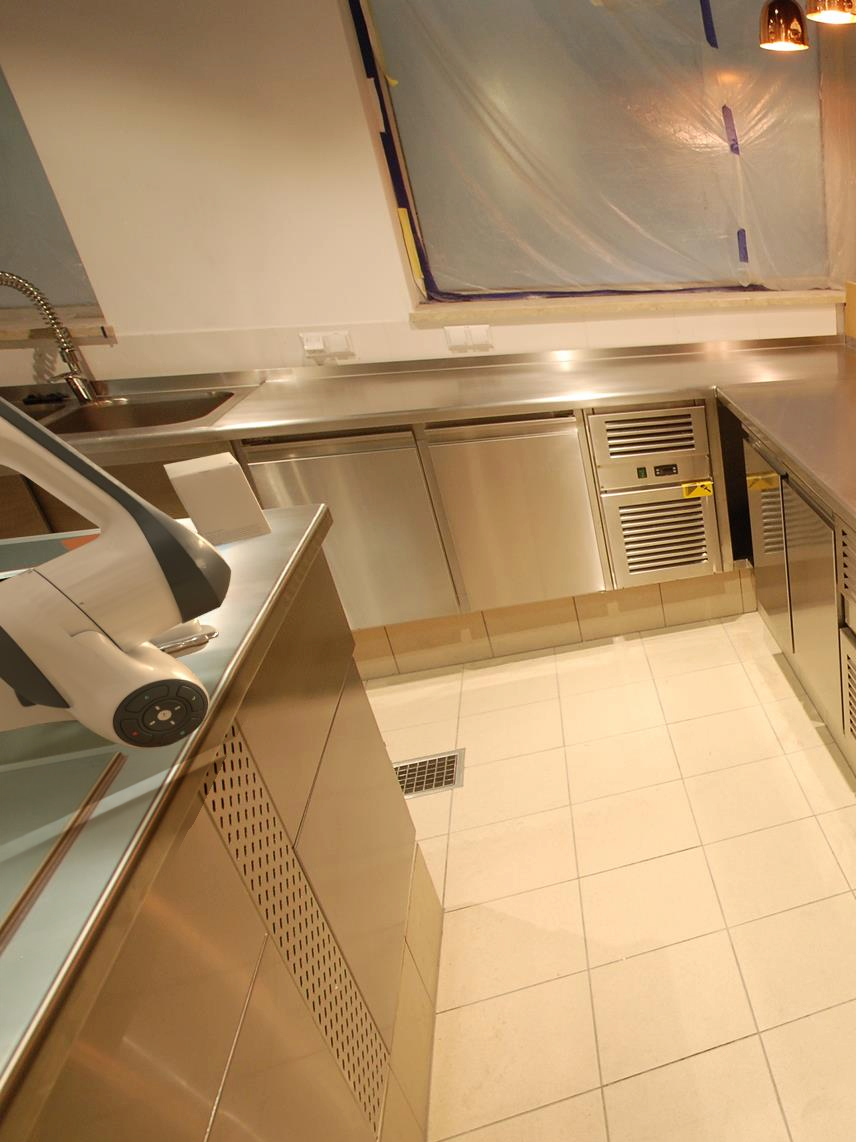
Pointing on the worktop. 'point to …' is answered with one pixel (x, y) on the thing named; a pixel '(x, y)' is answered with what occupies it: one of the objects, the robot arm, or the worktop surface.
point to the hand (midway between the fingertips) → (55, 636)
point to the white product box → (218, 498)
